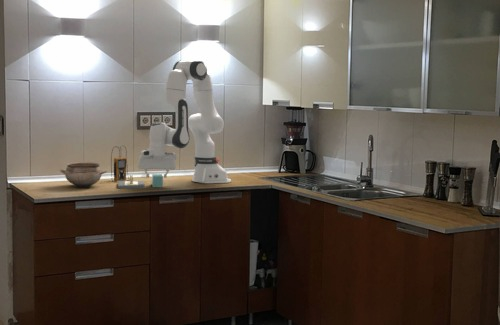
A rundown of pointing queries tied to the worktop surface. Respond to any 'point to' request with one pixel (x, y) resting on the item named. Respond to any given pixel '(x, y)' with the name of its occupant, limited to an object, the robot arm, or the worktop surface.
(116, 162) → the multimeter
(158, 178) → the block
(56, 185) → the worktop surface
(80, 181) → the cooking pot
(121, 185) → the header board
